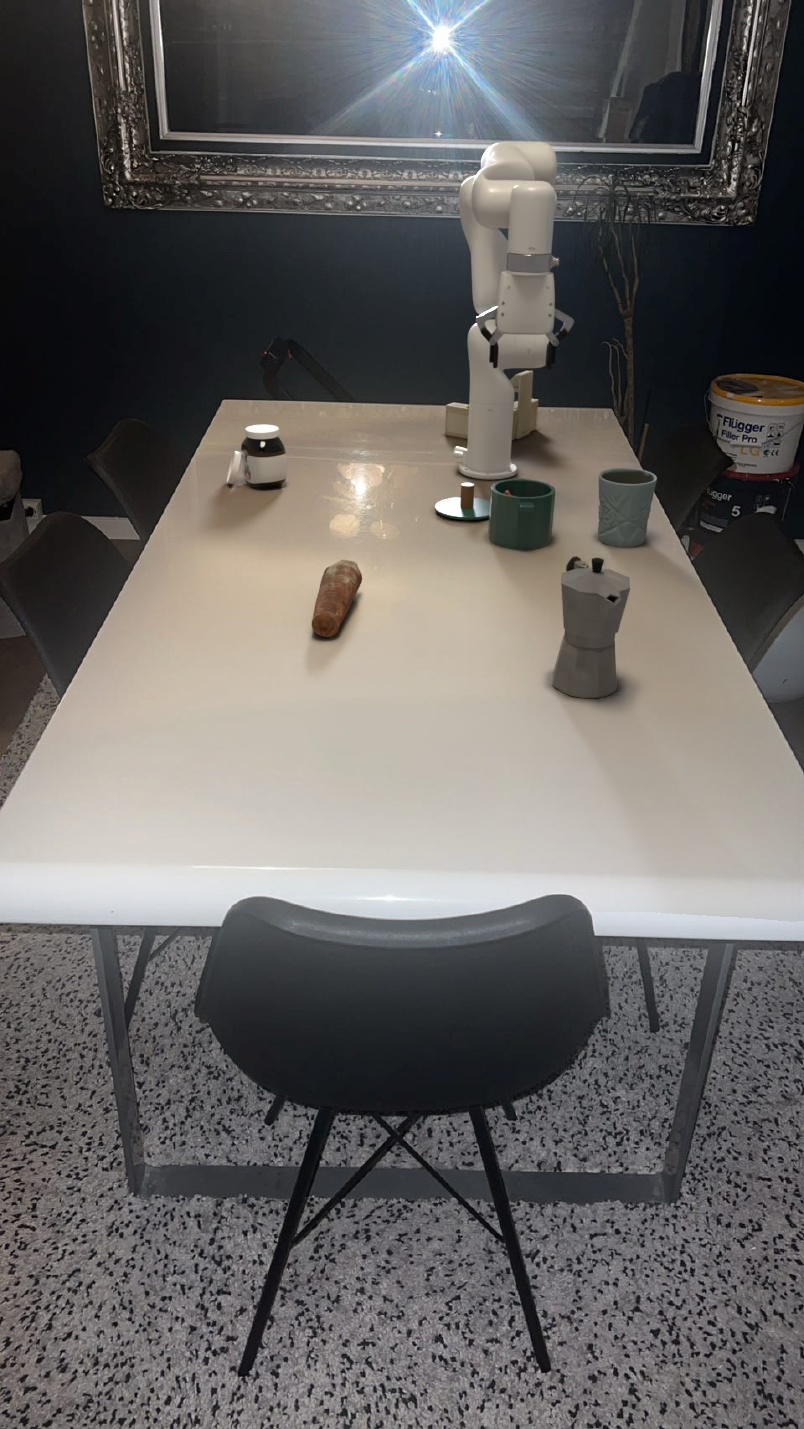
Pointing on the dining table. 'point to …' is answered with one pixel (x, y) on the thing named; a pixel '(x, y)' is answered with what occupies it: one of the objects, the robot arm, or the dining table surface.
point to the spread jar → (260, 458)
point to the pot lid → (464, 505)
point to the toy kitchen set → (522, 411)
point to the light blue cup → (624, 505)
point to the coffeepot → (589, 628)
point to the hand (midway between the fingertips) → (521, 367)
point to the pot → (521, 514)
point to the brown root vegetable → (335, 596)
